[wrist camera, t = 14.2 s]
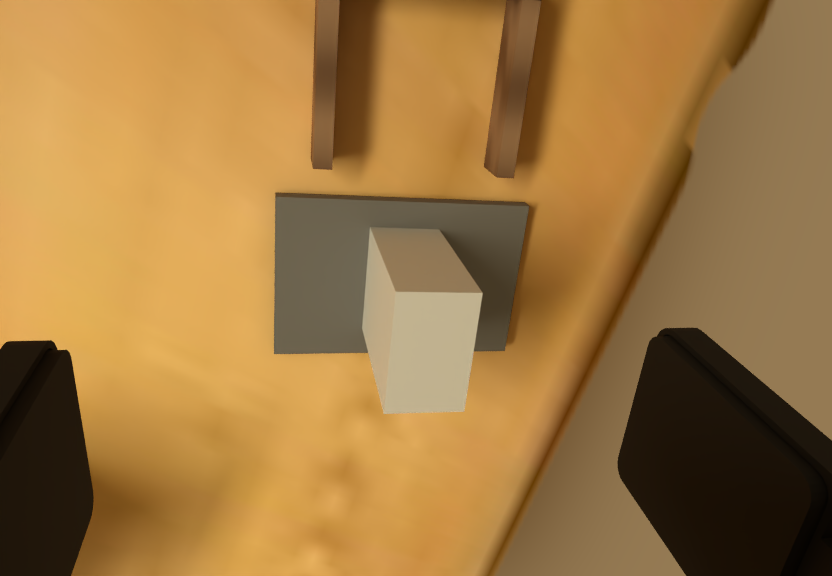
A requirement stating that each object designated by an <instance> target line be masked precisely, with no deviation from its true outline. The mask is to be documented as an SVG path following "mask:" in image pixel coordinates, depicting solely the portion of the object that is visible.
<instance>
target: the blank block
mask: <svg viewBox="0 0 832 576" xmlns="http://www.w3.org/2000/svg"><path fill="white" fill-rule="evenodd" d="M482 294H483V293H482V291H481V290H480V288H479V287H478V285H477V284H476V282H475V281H474V280H473V278H472V277H471V275H470V274H469V272H468V271H467V269H466V268H465V266H464V265H463V263H462V262H461V261H460V259H459V258H458V256H457V255H456V253H455V252H454V250H453V249H452V247H451V246H450V244H449V243H448V242H447V240H446V239H445V237H444V236H443V234H442V233H441V231H440V230H439V229H413V228H385V227H370V234H369V247H368V260H367V273H366V286H365V299H364V311H363V324H362V330H363V334H364V338H365V342H366V346H367V349H368V353H369V357H370V361H371V365H372V369H373V373H374V377H375V381H376V385H377V389H378V393H379V397H380V401H381V404H382V408H383V412H384V414H394V413H431V412H464V410H465V404H466V397H467V391H468V384H469V378H470V371H471V365H472V359H473V352H474V346H475V339H476V333H477V327H478V320H479V314H480V307H481V301H482Z"/></svg>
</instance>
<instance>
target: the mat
mask: <svg viewBox="0 0 832 576" xmlns="http://www.w3.org/2000/svg"><path fill="white" fill-rule="evenodd" d="M528 211H529V206H528V205H527V204H526V203H525V202H504V201H478V200H452V199H426V198H400V197H374V196H348V195H322V194H296V193H276V201H275V312H274V354H309V353H368V349H367V346H366V342H365V338H364V334H363V330H362V324H363V311H364V299H365V286H366V273H367V260H368V247H369V234H370V227H385V228H413V229H439V230H440V231H441V233H442V234H443V236H444V237H445V239H446V240H447V242H448V243H449V244H450V246H451V247H452V249H453V250H454V252H455V253H456V255H457V256H458V258H459V259H460V261H461V262H462V263H463V265H464V266H465V268H466V269H467V271H468V272H469V274H470V275H471V277H472V278H473V280H474V281H475V282H476V284H477V285H478V287H479V288H480V290H481V291H482V293H483V294H482V301H481V307H480V314H479V320H478V327H477V333H476V339H475V346H474V351H505V346H506V340H507V334H508V329H509V323H510V317H511V311H512V305H513V299H514V293H515V287H516V281H517V275H518V270H519V264H520V258H521V252H522V246H523V240H524V234H525V228H526V222H527V216H528Z"/></svg>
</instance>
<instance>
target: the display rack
mask: <svg viewBox="0 0 832 576" xmlns="http://www.w3.org/2000/svg"><path fill="white" fill-rule="evenodd" d="M339 3H340V0H316V6H315V38H314V71H313V104H312V137H311V161H312V166H313V169H328V170H332V163H333V140H334V117H335V94H336V71H337V49H338V26H339ZM540 6H541V0H507V2H506V10H505V17H504V24H503V32H502V39H501V46H500V53H499V61H498V68H497V75H496V82H495V90H494V97H493V104H492V112H491V119H490V126H489V133H488V141H487V148H486V155H485V163H484V167H485V168H486V169H487V170H488V171H490V172H491V173H492V174H493V175H494V176H496V177H499V178H514V172H515V166H516V159H517V153H518V147H519V140H520V134H521V127H522V121H523V115H524V108H525V102H526V96H527V89H528V83H529V76H530V70H531V64H532V57H533V51H534V44H535V38H536V32H537V25H538V19H539V13H540Z"/></svg>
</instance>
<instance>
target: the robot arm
mask: <svg viewBox="0 0 832 576" xmlns="http://www.w3.org/2000/svg"><path fill="white" fill-rule="evenodd" d="M618 471H619V475H620V478H621V479H622V481H623V483H624V484H625V486H626V487H627V489H628V490H629V492H630V493H631V495H632V496H633V497H634V499H635V500H636V502H637V503H638V505H639V506H640V508H641V509H642V511H643V512H644V514H645V515H646V517H647V518H648V520H649V521H650V523H651V524H652V526H653V527H654V529H655V530H656V532H657V533H658V535H659V536H660V537H661V539H662V540H663V542H664V543H665V545H666V546H667V548H668V549H669V551H670V552H671V553H672V555H673V557H674V558H675V560H676V561H677V563H678V564H679V566H680V567H681V568H682V570H683V572H684V573H685V574H686V576H832V441H831V440H830V439H829V438H828V437H827V436H826V435H824V434H823V433H822V432H820V431H819V430H818V429H817V428H816V427H815V426H814V425H812V424H811V423H810V422H809V421H808V420H807V419H805V418H804V417H803V416H802V415H801V414H800V413H798V412H797V411H796V410H795V409H794V408H792V407H791V406H790V405H789V404H788V403H786V402H785V401H784V400H783V399H782V398H781V397H779V396H778V395H777V394H776V393H775V392H774V391H772V390H771V389H770V388H769V387H768V386H766V385H765V384H764V383H763V382H761V381H760V380H759V379H758V378H757V377H756V376H754V375H753V374H752V373H751V372H750V371H748V370H747V369H746V368H745V367H744V366H743V365H741V364H740V363H739V362H738V361H737V360H736V359H734V358H733V357H732V356H731V355H730V354H728V353H727V352H726V351H725V350H724V349H723V348H721V347H720V346H719V345H718V344H717V343H716V342H714V341H713V340H712V339H711V338H709V337H708V336H707V335H706V334H705V333H704V332H702V331H701V330H699V329H698V328H665V329H663V330H661V331H660V332H659V334H658V335H657V337H654V338H652V339H651V340H650V342H649V345H648V348H647V352H646V355H645V359H644V363H643V367H642V370H641V374H640V378H639V382H638V385H637V389H636V393H635V397H634V400H633V405H632V408H631V412H630V415H629V419H628V423H627V427H626V430H625V434H624V438H623V442H622V445H621V449H620V453H619V457H618ZM92 510H93V488H92V482H91V476H90V470H89V464H88V458H87V451H86V445H85V439H84V433H83V427H82V421H81V415H80V409H79V402H78V396H77V390H76V384H75V378H74V372H73V366H72V360H71V356H70V353H69V352H68V351H67V350H57V347H56V345H55V343H54V342H53V341H9V342H6V343H5V344H4V345H3V346H2V348H1V349H0V576H71V574H72V571H73V568H74V565H75V562H76V559H77V557H78V554H79V551H80V548H81V545H82V542H83V539H84V536H85V533H86V531H87V528H88V525H89V522H90V519H91V515H92Z"/></svg>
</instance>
